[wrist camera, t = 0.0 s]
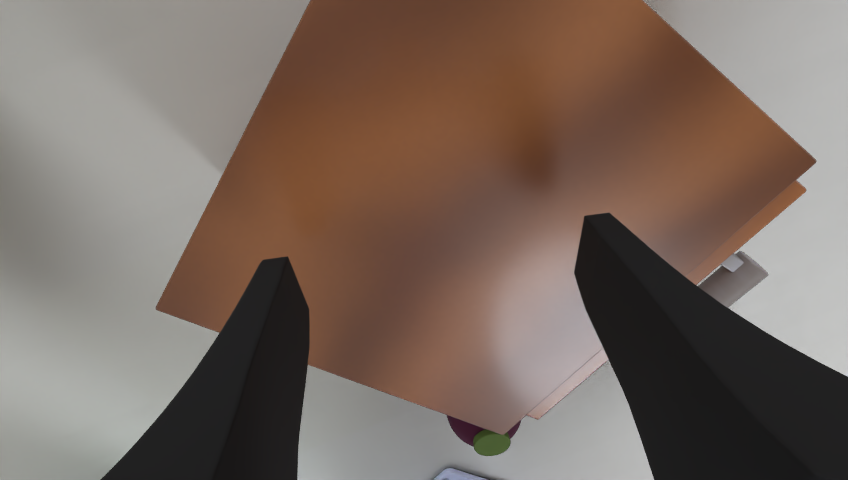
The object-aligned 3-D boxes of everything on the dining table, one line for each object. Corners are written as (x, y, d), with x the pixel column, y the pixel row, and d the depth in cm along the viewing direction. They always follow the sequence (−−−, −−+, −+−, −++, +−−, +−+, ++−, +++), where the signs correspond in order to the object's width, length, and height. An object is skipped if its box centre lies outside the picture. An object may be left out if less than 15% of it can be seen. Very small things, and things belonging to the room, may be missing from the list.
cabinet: (667, 75, 21) (818, 161, 14) (468, 296, 27) (503, 436, 20) (395, -159, 16) (416, -209, 9) (224, 178, 22) (154, 310, 15)
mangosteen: (482, 407, 32) (498, 476, 29) (427, 386, 31) (436, 456, 27) (526, 366, 31) (549, 434, 27) (470, 342, 29) (485, 410, 25)
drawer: (757, 169, 23) (882, 255, 17) (568, 343, 28) (616, 451, 23) (458, -81, 16) (504, -74, 11) (286, 207, 22) (258, 311, 16)
